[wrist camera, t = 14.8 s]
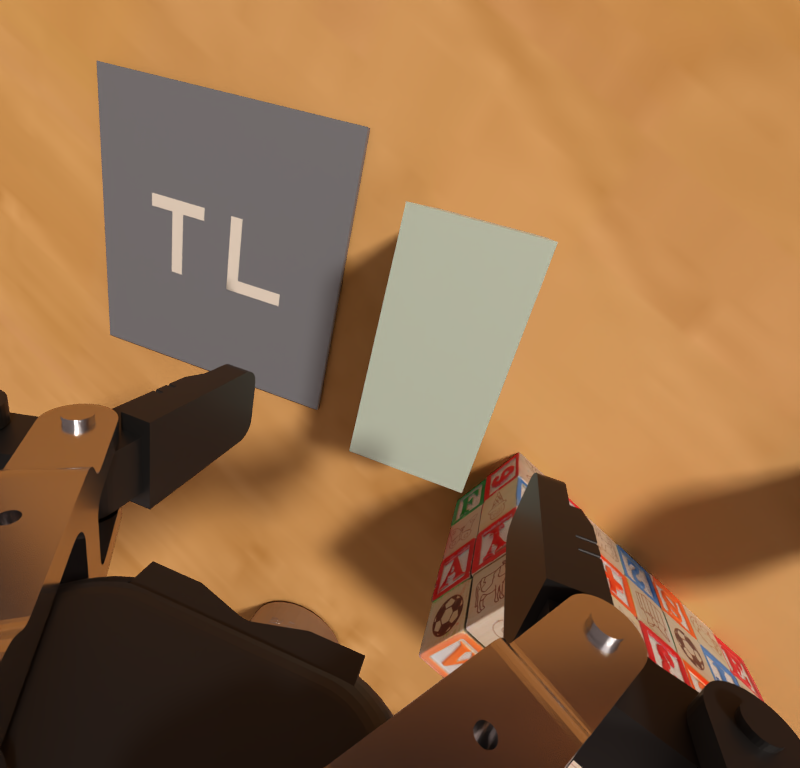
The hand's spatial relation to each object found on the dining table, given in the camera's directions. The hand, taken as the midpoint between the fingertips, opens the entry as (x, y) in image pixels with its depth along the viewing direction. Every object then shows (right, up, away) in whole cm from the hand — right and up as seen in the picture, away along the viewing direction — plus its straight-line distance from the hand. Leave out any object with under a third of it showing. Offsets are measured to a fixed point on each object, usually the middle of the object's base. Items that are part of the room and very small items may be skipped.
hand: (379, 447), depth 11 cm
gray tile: (-12, +11, +17) cm, 23 cm away
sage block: (+4, +5, +14) cm, 16 cm away
